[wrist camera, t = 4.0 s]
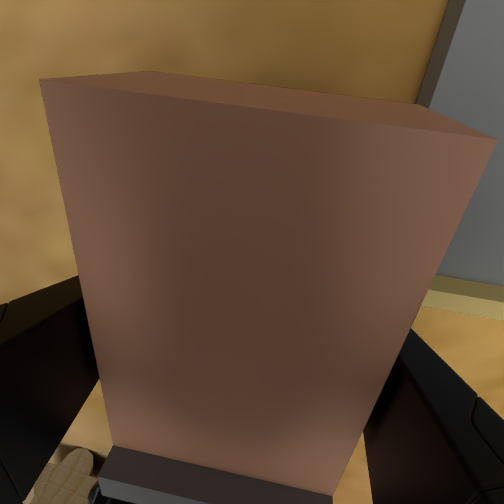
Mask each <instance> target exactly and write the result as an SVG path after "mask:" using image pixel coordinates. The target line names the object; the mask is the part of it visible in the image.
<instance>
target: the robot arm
mask: <svg viewBox="0 0 504 504" xmlns="http://www.w3.org/2000/svg"><path fill="white" fill-rule="evenodd" d="M99 378H100V377H99V372H98V367H97V363H96V358H95V353H94V348H93V343H92V338H91V333H90V328H89V323H88V318H87V313H86V308H85V303H84V299H83V294H82V289H81V284H80V279H79V275H78V276H75V277H72V278H70V279H67V280H65V281H62V282H59V283H57V284H54V285H51V286H49V287H46V288H44V289H41V290H38V291H36V292H33V293H31V294H28V295H25V296H23V297H20V298H17V299H15V300H12V301H10V302H9V303H4V304H2V305H0V504H23V502H22V501H24V500H25V499H26V497H27V495H28V494H29V492H30V491H31V489H32V487H33V486H34V484H35V482H36V481H37V479H38V478H39V476H40V474H41V473H42V471H43V469H44V468H45V466H46V465H47V463H48V461H49V460H50V458H51V456H52V455H53V453H54V452H55V450H56V448H57V447H58V445H59V443H60V442H61V440H62V439H63V437H64V435H65V434H66V432H67V430H68V429H69V427H70V426H71V424H72V422H73V421H74V419H75V417H76V416H77V414H78V412H79V411H80V409H81V408H82V406H83V404H84V403H85V401H86V399H87V398H88V396H89V395H90V393H91V391H92V390H93V388H94V386H95V385H96V383H97V382H98V380H99ZM477 396H478V395H477V393H476V392H475V391H474V390H473V389H472V388H471V387H470V386H469V385H468V384H467V383H466V382H465V381H464V380H463V379H462V378H461V377H460V376H459V375H458V374H457V373H456V372H455V371H454V370H453V369H452V368H451V367H450V366H449V365H448V364H447V363H446V362H445V361H444V360H443V359H441V358H440V357H439V356H438V355H437V354H436V353H435V352H434V351H433V350H432V349H431V348H430V347H429V346H428V345H427V344H426V343H425V342H424V341H423V340H422V339H421V338H420V337H419V336H418V335H417V334H416V333H415V332H414V331H413V330H412V329H411V328H410V330H409V332H408V335H407V337H406V339H405V341H404V343H403V345H402V348H401V350H400V352H399V354H398V356H397V358H396V360H395V363H394V365H393V367H392V369H391V371H390V373H389V376H388V378H387V380H386V382H385V384H384V386H383V388H382V391H381V393H380V395H379V397H378V399H377V401H376V404H375V406H374V408H373V410H372V412H371V414H370V416H369V419H368V421H367V423H366V425H365V427H364V429H363V434H364V441H365V449H366V456H367V463H368V471H369V478H370V485H371V493H372V500H373V504H504V420H503V419H502V418H501V417H500V416H499V415H498V414H497V413H496V412H495V411H494V410H493V409H492V408H491V407H490V406H489V405H488V404H487V403H486V402H485V401H484V400H483V399H482V398H481V397H477ZM87 500H88V504H135V503H131V502H127V501H123V500H119V499H115V498H111V497H107V496H103V495H102V493H101V489H100V485H99V482H98V480H97V481H96V482H95V484H94V485H93V486H92V488H91V490H90V492H89V494H88V497H87Z"/></svg>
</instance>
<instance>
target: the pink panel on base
mask: <svg viewBox="0 0 504 504" xmlns="http://www.w3.org/2000/svg"><path fill="white" fill-rule="evenodd" d="M39 82H40V87H41V92H42V97H43V102H44V107H45V112H46V117H47V121H48V126H49V131H50V136H51V141H52V146H53V151H54V156H55V161H56V166H57V171H58V176H59V181H60V185H61V190H62V195H63V200H64V205H65V210H66V215H67V220H68V225H69V230H70V235H71V240H72V244H73V249H74V254H75V259H76V264H77V269H78V274H79V279H80V284H81V289H82V294H83V299H84V303H85V308H86V313H87V318H88V323H89V328H90V333H91V338H92V343H93V348H94V353H95V358H96V363H97V367H98V372H99V377H100V382H101V387H102V392H103V397H104V402H105V407H106V412H107V417H108V422H109V426H110V431H111V436H112V441H113V447H112V449H111V451H110V453H109V455H108V457H107V458H106V460H105V462H104V464H103V466H102V468H101V470H100V472H99V474H98V476H97V478H98V482H99V485H100V489H101V493H102V495H103V496H107V497H111V498H115V499H119V500H123V501H127V502H131V503H135V504H333V499H332V496H333V494H334V492H335V490H336V487H337V485H338V483H339V481H340V479H341V477H342V475H343V472H344V470H345V468H346V466H347V464H348V462H349V459H350V457H351V455H352V453H353V451H354V449H355V447H356V444H357V442H358V440H359V438H360V436H361V434H362V431H363V429H364V427H365V425H366V423H367V421H368V419H369V416H370V414H371V412H372V410H373V408H374V406H375V404H376V401H377V399H378V397H379V395H380V393H381V391H382V388H383V386H384V384H385V382H386V380H387V378H388V376H389V373H390V371H391V369H392V367H393V365H394V363H395V360H396V358H397V356H398V354H399V352H400V350H401V348H402V345H403V343H404V341H405V339H406V337H407V335H408V332H409V330H410V328H411V326H412V324H413V322H414V320H415V317H416V315H417V313H418V311H419V309H420V307H421V304H422V302H423V300H424V298H425V296H426V294H427V292H428V289H429V287H430V285H431V283H432V281H433V279H434V277H435V274H436V272H437V270H438V268H439V266H440V264H441V261H442V259H443V257H444V255H445V253H446V251H447V249H448V246H449V244H450V242H451V240H452V238H453V236H454V233H455V231H456V229H457V227H458V225H459V223H460V221H461V218H462V216H463V214H464V212H465V210H466V208H467V205H468V203H469V201H470V199H471V197H472V195H473V193H474V190H475V188H476V186H477V184H478V182H479V180H480V177H481V175H482V173H483V171H484V169H485V167H486V165H487V162H488V160H489V158H490V156H491V154H492V152H493V149H494V147H495V145H496V143H497V141H498V139H495V138H493V137H491V136H489V135H486V134H484V133H482V132H480V131H477V130H475V129H473V128H471V127H468V126H466V125H464V124H462V123H459V122H457V121H455V120H453V119H450V118H448V117H446V116H444V115H441V114H439V113H437V112H435V111H432V110H430V109H428V108H426V107H423V106H421V105H418V104H410V103H402V102H394V101H386V100H378V99H370V98H362V97H354V96H346V95H338V94H330V93H322V92H314V91H306V90H298V89H290V88H282V87H274V86H266V85H258V84H250V83H242V82H234V81H226V80H218V79H210V78H202V77H194V76H186V75H178V74H170V73H162V72H154V71H143V72H130V73H116V74H103V75H89V76H76V77H63V78H49V79H39Z"/></svg>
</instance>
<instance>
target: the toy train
mask: <svg viewBox="0 0 504 504" xmlns="http://www.w3.org/2000/svg"><path fill="white" fill-rule="evenodd" d="M97 480H98V479H97V478H94V477H93V455H92V454H91V453H90V452H89V451H88V450H87V449H82V448H77V449H75V450H74V451H72V452H70V453H69V454H68V455H67V456H66V457H65V459H64V460H63V461H62V462H61V463H60V465H56V464H51V463H47V465H46V466H45V468H44V469H43V471H42V473H41V474H40V476H39V478H38V479H37V481H36V482H35V484H34V497H33V499H32V501H31V502H30V504H88V500H87V497H88V494H89V492H90V490H91V488H92V486H93V485H94V484H95V482H96V481H97Z"/></svg>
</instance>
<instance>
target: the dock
mask: <svg viewBox="0 0 504 504" xmlns="http://www.w3.org/2000/svg"><path fill="white" fill-rule="evenodd" d="M416 104H418V105H421V106H423V107H426V108H428V109H430V110H432V111H435V112H437V113H439V114H441V115H444V116H446V117H448V118H450V119H453V120H455V121H457V122H459V123H462V124H464V125H466V126H468V127H471V128H473V129H475V130H477V131H480V132H482V133H484V134H486V135H489V136H491V137H493V138H495V139H498V141H497V143H496V145H495V147H494V149H493V152H492V154H491V156H490V158H489V160H488V162H487V165H486V167H485V169H484V171H483V173H482V175H481V177H480V180H479V182H478V184H477V186H476V188H475V190H474V193H473V195H472V197H471V199H470V201H469V203H468V205H467V208H466V210H465V212H464V214H463V216H462V218H461V221H460V223H459V225H458V227H457V229H456V231H455V233H454V236H453V238H452V240H451V242H450V244H449V246H448V249H447V251H446V253H445V255H444V257H443V259H442V261H441V264H440V266H439V268H438V270H437V272H436V274H435V277H434V279H433V281H432V283H431V285H430V287H429V289H428V292H427V294H426V296H425V298H424V300H423V302H422V304H421V306H424V307H430V308H435V309H441V310H447V311H452V312H458V313H464V314H469V315H475V316H481V317H486V318H492V319H498V320H503V321H504V0H449V2H448V5H447V8H446V11H445V15H444V18H443V21H442V24H441V27H440V30H439V33H438V36H437V39H436V42H435V45H434V49H433V52H432V55H431V58H430V61H429V64H428V67H427V70H426V73H425V76H424V80H423V83H422V86H421V89H420V92H419V95H418V98H417V101H416Z"/></svg>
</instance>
